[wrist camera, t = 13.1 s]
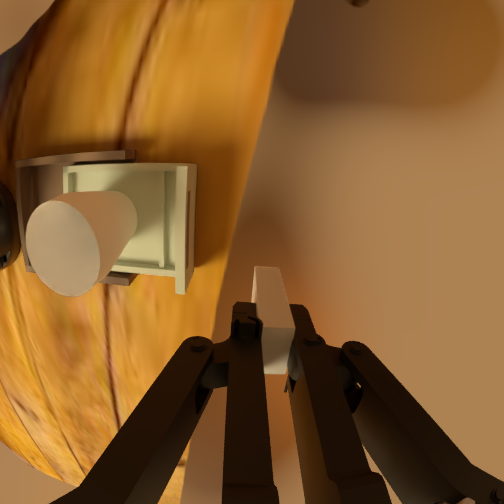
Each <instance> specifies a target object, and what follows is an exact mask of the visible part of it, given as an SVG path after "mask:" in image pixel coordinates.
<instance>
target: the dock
mask: <svg viewBox="0 0 504 504" xmlns="http://www.w3.org/2000/svg"><path fill="white" fill-rule="evenodd" d="M135 158H136V150H121V151H100V152H86V153H73V154H63V155H54V156H45V157H37V158H30V159H23V160H17V161H16V198H17V211H18V221H19V230H20V237H21V244H22V251H23V256H24V262H25V267H26V272H32V273H36V272H35V271H34V269H33V267H32V265H31V263H30V260H29V257H28V253H27V249H26V228H27V224H28V221H29V219H30V216H31V215H32V213H33V212H34V210H35V209H36V208H37V207H38V206H40V205H41V204H43V203H45V202H47V201H49V200H51V199H54V198H56V197H58V196H60V195H62V194H63V166H70V165H83V164H104V163H135ZM137 275H138V274H137V273H129V272H119V271H110V272H109V273H108V274H107V275H106V277H105V278H103V279H102V280H101V281H99V283H107V284H115V285H123V286H129V285H130V284H131V283H132V282H133V280H134V279H135V278H136V276H137Z"/></svg>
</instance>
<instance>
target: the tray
mask: <svg viewBox="0 0 504 504" xmlns="http://www.w3.org/2000/svg"><path fill="white" fill-rule="evenodd" d="M197 169H198V164H191V163H104V164H83V165H70V166H63V194H65V193H70V192H85V191H118V192H121V193H123V194H125V195H126V196H127V197H128V198H129V199H130V200H131V201H132V202H133V204H134V206H135V208H136V211H137V216H138V223H137V228H136V231H135V233H134V234H133V236H132V237H131V239H130V241H129V242H128V244H127V245H126V247H125V248H124V250H123V251H122V253H121V254H120V256H119V258H118V259H117V261H116V262H115V264H114V266H113V267H112V269H111V270H110V271H119V272H129V273H139V274H149V275H159V276H170V277H175V286H176V294H185V293H186V291H187V288H188V285H189V283H190V280H191V278H192V275H193V272H194V236H195V207H196V186H197Z"/></svg>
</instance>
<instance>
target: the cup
mask: <svg viewBox="0 0 504 504" xmlns="http://www.w3.org/2000/svg"><path fill="white" fill-rule="evenodd" d="M137 223H138V216H137V211H136V208H135V206H134V204H133V202H132V201H131V200H130V199H129V198H128V197H127V196H126V195H125V194H123V193H121V192H118V191H85V192H70V193H65V194H62V195H60V196H58V197H56V198H54V199H51V200H49V201H47V202H45V203H43V204H41V205H40V206H38V207H37V208H36V209H35V210H34V212H33V213H32V215H31V216H30V219H29V221H28V224H27V228H26V249H27V253H28V257H29V260H30V263H31V265H32V267H33V269H34V271H35V272H36V274H37V276H38V277H39V278H40V279H41V281H42V282H43V283H44V284H45V285H46V286H47V287H49V288H50V289H51V290H53V291H54V292H56V293H58V294H60V295H63V296H68V297H76V296H80V295H83V294H85V293H86V292H88V291H89V290H90V289H91V288H92V287H93V286H95V285H96V284H97V283H98V282H99V281H101V280H102V279H103V278H105V277H106V275H107V274H108V273H109V272H110V270H111V269H112V267H113V266H114V264H115V262H116V261H117V259H118V258H119V256H120V254H121V253H122V251H123V250H124V248H125V247H126V245H127V244H128V242H129V241H130V239H131V237H132V236H133V234H134V233H135V231H136V228H137Z"/></svg>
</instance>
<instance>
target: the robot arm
mask: <svg viewBox="0 0 504 504" xmlns="http://www.w3.org/2000/svg"><path fill="white" fill-rule="evenodd" d="M20 243H21V237H20V230H19V221H18V211H17V208H16V205H15V202H14V200H13V198H12V196H11V194H10V192H9V191H8V189H7V188H6V187H5V186H4V185H3V184H2V183H1V182H0V270H3V269H5V268H6V267H8V266H9V265H11V264H12V263H13V262H14V261H15V259H16V258H17V256H18V253H19V249H20ZM287 367H288V372H289V373H288V378H287V382H286V386H285V390H284V392H287V389H288V392H289V398H290V405H291V411H292V417H293V424H294V430H295V436H296V443H297V449H298V456H299V463H300V469H301V476H302V483H303V489H304V496H305V504H392V503H391V500H390V496H389V494H388V490H387V487H386V484H385V481H384V479H383V477H382V476H381V475H380V474H379V473H376V472H372V471H371V469H370V467H369V464H368V461H367V458H366V455H365V452H364V449H363V446H364V447H365V449H366V450H367V452H368V453H369V455H370V456H371V458H372V459H373V461H374V462H375V464H376V465H377V466H378V468H379V470H380V471H381V473H382V474H383V476H384V477H385V478H386V480H387V482H388V483H389V485H390V486H391V488H392V489H393V491H394V492H395V493H396V495H397V496H398V498H399V499H400V501H401V502H402V504H504V482H503V481H501V480H499V479H497V478H495V477H493V476H492V475H490V474H488V473H486V472H485V471H483V470H481V469H479V468H478V467H476V466H474V465H472V464H471V463H470V461H469V460H468V459H467V458H466V457H465V456H464V454H463V453H462V452H461V451H460V450H459V449H458V447H457V446H456V445H455V444H454V443H453V442H452V440H450V438H449V437H448V436H447V435H446V434H445V432H444V431H443V430H442V429H441V428H440V427H439V426H438V424H437V423H436V422H435V421H434V420H433V419H432V418H431V416H430V415H429V414H428V413H427V412H426V411H425V410H424V409H423V408H422V406H421V405H420V404H419V403H418V402H417V401H416V400H415V399H414V397H413V396H412V395H411V394H410V393H409V392H408V391H407V390H406V389H405V387H404V386H403V385H402V384H401V383H400V382H399V381H398V380H397V379H396V378H395V376H394V375H393V374H392V373H391V372H390V371H389V370H388V369H387V368H386V367H385V365H384V364H383V363H382V362H381V361H380V360H379V359H378V358H377V357H376V356H375V355H374V353H372V351H371V350H370V349H369V348H368V347H367V346H366V345H364V344H363V343H360V342H356V341H348V342H345V343H344V344H343V346H342V348H337V347H332V346H329V345H327V344H326V343H325V340H324V339H323V338H322V337H321V336H320V335H318V334H316V331H315V329H314V326H313V323H312V321H311V317H310V315H309V312H308V310H307V309H306V308H305V307H304V306H303V305H297V304H289V302H288V299H287V295H286V291H285V288H284V284H283V281H282V277H281V274H280V270H279V268H278V267H262V266H255V272H254V281H253V291H252V301H251V303H249V302H236V304H235V305H234V306H233V312H232V322H231V335H230V337H229V339H227V340H226V341H224V342H221V343H216V344H213V343H212V341H211V340H209V339H208V338H205V337H201V336H194V337H190V338H187V339H186V340H185V341H183V343H182V344H181V345H180V347H179V348H178V349H177V351H176V352H175V354H174V355H173V356H172V358H171V359H170V361H169V362H168V363H167V365H166V366H165V367H164V369H163V370H162V372H161V373H160V374H159V376H158V377H157V379H156V380H155V381H154V383H153V384H152V385H151V387H150V388H149V390H148V391H147V392H146V394H145V395H144V397H143V398H142V399H141V401H140V402H139V404H138V405H137V406H136V408H135V409H134V410H133V412H132V413H131V415H130V416H129V417H128V419H127V420H126V422H125V423H124V424H123V426H122V427H121V429H120V430H119V431H118V433H117V434H116V436H115V437H114V438H113V440H112V441H111V442H110V444H109V445H108V447H107V448H106V449H105V451H104V452H103V454H102V455H101V456H100V458H99V459H98V461H97V462H96V463H95V465H94V466H93V468H92V469H91V470H90V472H89V473H88V475H87V476H86V477H85V479H84V480H83V482H82V483H81V484H80V486H79V487H77V488H76V489H74V490H72V491H70V492H69V493H67V494H65V495H64V496H62V497H60V498H58V499H57V500H55V501H53V502H51V503H50V504H157V503H158V502H159V500H160V498H161V496H162V494H163V492H164V490H165V488H166V486H167V484H168V482H169V480H170V478H171V476H172V474H173V472H174V470H175V468H176V466H177V464H178V462H179V460H180V458H181V456H182V454H183V452H184V450H185V448H186V446H187V444H188V442H189V440H190V438H191V436H192V434H193V432H194V430H195V428H196V426H197V424H198V422H199V419H200V417H201V415H202V413H203V411H204V409H205V407H206V405H207V403H208V401H209V399H210V397H211V394H212V392H213V389H214V388H220V387H226V386H227V403H226V421H225V423H226V424H225V443H224V462H223V486H222V504H279V496H278V490H277V487H276V486H275V485H274V481H273V472H272V459H271V447H270V436H269V423H268V413H267V400H266V389H265V377H264V374H286V370H287ZM357 383H359V385H360V386H361V388H360V387H359V386H358V385H357ZM361 442H362V443H361ZM362 444H363V446H362Z"/></svg>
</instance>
